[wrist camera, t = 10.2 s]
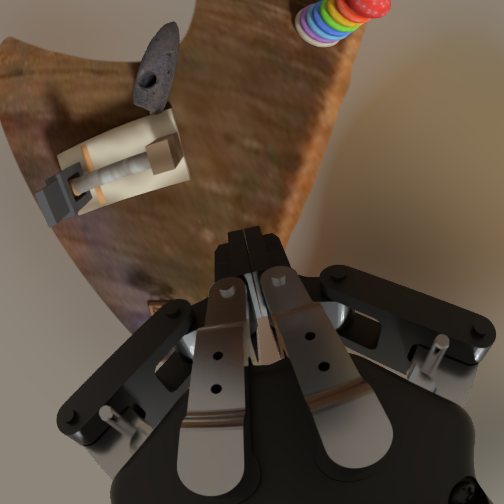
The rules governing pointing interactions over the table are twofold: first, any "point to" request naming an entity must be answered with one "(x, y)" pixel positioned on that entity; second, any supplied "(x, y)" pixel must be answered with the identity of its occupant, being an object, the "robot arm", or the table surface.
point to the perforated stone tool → (157, 70)
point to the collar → (61, 196)
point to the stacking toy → (336, 19)
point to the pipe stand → (128, 160)
